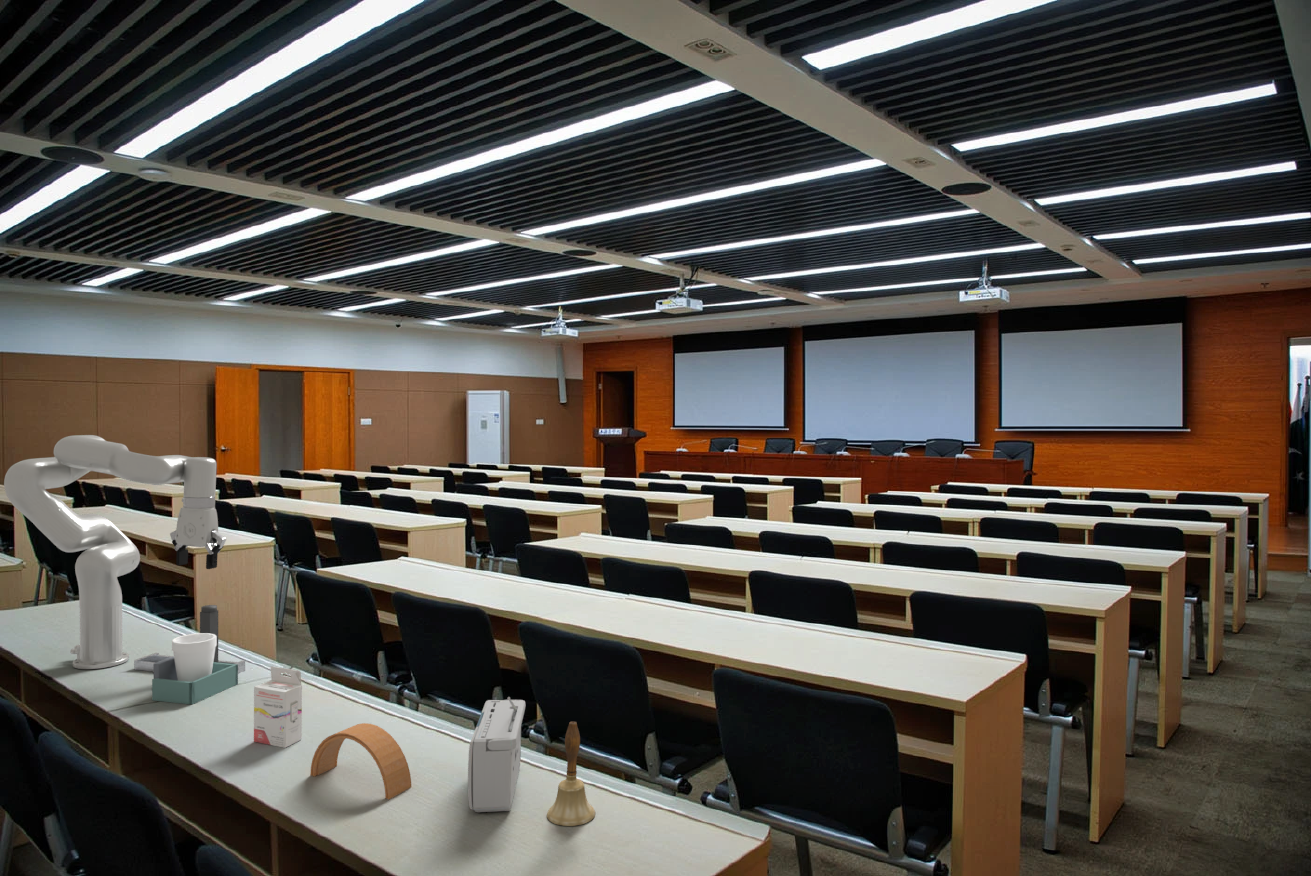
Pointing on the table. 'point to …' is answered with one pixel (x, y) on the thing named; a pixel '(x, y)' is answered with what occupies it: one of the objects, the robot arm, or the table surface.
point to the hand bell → (571, 788)
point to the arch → (379, 748)
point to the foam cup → (194, 655)
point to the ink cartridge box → (278, 709)
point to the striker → (207, 625)
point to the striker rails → (148, 661)
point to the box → (196, 685)
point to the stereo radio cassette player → (495, 756)
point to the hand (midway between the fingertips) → (196, 566)
